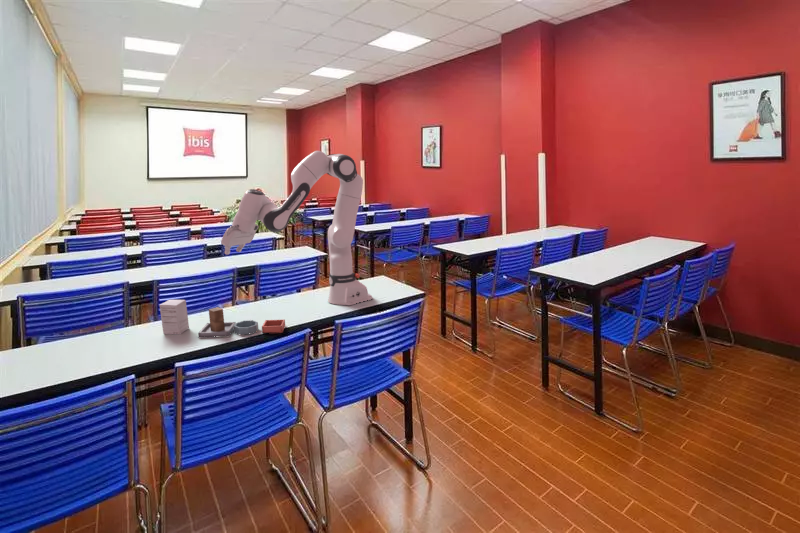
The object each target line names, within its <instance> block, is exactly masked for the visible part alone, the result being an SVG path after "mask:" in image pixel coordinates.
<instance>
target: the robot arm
mask: <svg viewBox="0 0 800 533" xmlns="http://www.w3.org/2000/svg"><path fill="white" fill-rule="evenodd" d="M325 174H327V175H329V176H331V177H333V178H337V179H338V180H339V189H338V193H337V197H336V202H335V205H334V210H333V217H332V224H330V226H329V227H328V228H327V229H328V230H327V242H328V254H329V277H328V278H329V279H328V280H329V285H330V286H329V295H328V299H327V302H328V303H330V304H333V305H338V306H339V305H340V306H341V305H344V306H353V305H357V304H360V303H359V302H361V303H364V302H363V301H365V302H368V301H371V299H372V298H373V296H372V295H371V294H370V293H369V292H368V288H367V286H366V285H365V284H363V283H362V282H360V281H359V280H357V279H360V277H361V275H360V274H359V273H355V272H353V256H352V255H353V254H352V243H353V241H354V235H355V230H356V222H357V216H358V211H359V207H360V203H361V199H362V195H363V188H364V185H363V184H364V179H363V177H362V176H361V175H360V174H358V172H357V166H356V162H355V160H354V158H352V157H351V156H349V155H346V154H344V153H332V154H328V155H327V154H326V153H325V152H323V151H322V150H314V151H313V152H311V153H309V154H307V156H305V157H304V158H303V159H302V160H300V162H299V163H298V164H297V165H296V166H295V167H294V168H293V169H292V171H291V173H290V181H291V184H292V190H291V193H290V194H289V196H288V197H287V199H285V201H284V202H283V203H282V205H280V206H279V207H278V205H276V204H275V203H274V202H273V201H271V200H270V199H269V198H268V197H267V196H266V195H265V193H264V192H263V191H261V190H258V189H255V188H251V189H248V190H246V191H245V192H244V193H243V196H242V198H241V199H240V202H239V206H238V210H237V212H236V213H235V215H234V218H233V220H232V223H231V226H230V227H228V228H227V229H226V230H225V232H224V234H223V235H222V238H221V240H220V243H221V245H223V246H224V254H225V255H226V256H227V255H230V253H231V248H232V247H234V246H237V247H236V250H235V251H236V252H237V253H241V252H242V250H243V249H244V247H245V246H246V245H247V244H250V243H252V241H253V239H254V237H255V235H256V232H257V231H258V229H259V225H258V224H256V222H257V221H260V222H261V223H262V224H263V225H264V226H265V227H266V229H267V231H269V232H271V233H278V232H279V233H280V232H281V231H283V230H285V229H286V228H287V226H288V225H289V222H290V220H291V218H292V217H293V216H294V214H295V213H296V211H297V210H298V209H299V208H300V206H302V204H303V203H304V202H305V200H306V199H307V197H308V196H309V194H310V192H311V189H312V188H313V186H314V185H315V184H316V183H317V182H318V181H319V179H321V177H323V176H324V175H325ZM367 300H368V301H367ZM372 300H373V299H372ZM356 303H357V304H356Z"/></svg>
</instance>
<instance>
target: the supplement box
mask: <svg viewBox="0 0 800 533" xmlns="http://www.w3.org/2000/svg"><path fill="white" fill-rule="evenodd" d="M159 311H160V317H161V325H162V334H164V335H181V334H183V333H184V332H185V331H187V330H188V329H190V324H189V317H188V307H187V300H186V299H168V300H166V301H165V302H162V303H160V304H159Z"/></svg>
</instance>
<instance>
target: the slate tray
mask: <svg viewBox="0 0 800 533" xmlns="http://www.w3.org/2000/svg"><path fill="white" fill-rule="evenodd" d="M236 323H237V322H236V321H228V322H227V321H224V325H225V330H223V331H220V332H213V331H211V328H210V322H207V323H206V324H204V326H203V327H202V328H201V330H200V331H199V332H198V333H197V334H198V335H197V336H198V338H199V337H207V338H217V337H216V336H229V337H230V335H231V334H232V333H233V332H234V325H235V324H236ZM231 332H232V333H231ZM230 333H231V334H230ZM214 336H215V337H214Z"/></svg>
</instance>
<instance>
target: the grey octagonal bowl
mask: <svg viewBox="0 0 800 533" xmlns="http://www.w3.org/2000/svg"><path fill="white" fill-rule="evenodd" d="M258 330H259V322H258V321H256V320H251V319H250V320H249V319H247V320H241V321H238V322H236V324H235V325H234V330H233V333H234V332H235V333H234V334H236V333H237V334H236V335H238V334H249V333H252V334H254V333H253V332H255V333H257V332H258ZM256 331H257V332H256ZM249 335H250V334H249Z"/></svg>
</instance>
